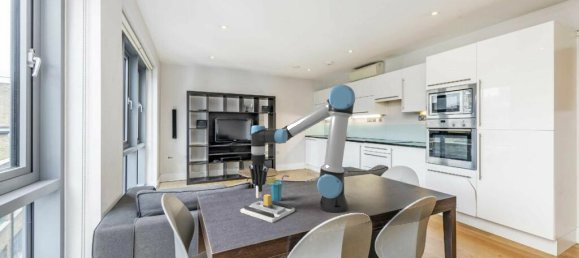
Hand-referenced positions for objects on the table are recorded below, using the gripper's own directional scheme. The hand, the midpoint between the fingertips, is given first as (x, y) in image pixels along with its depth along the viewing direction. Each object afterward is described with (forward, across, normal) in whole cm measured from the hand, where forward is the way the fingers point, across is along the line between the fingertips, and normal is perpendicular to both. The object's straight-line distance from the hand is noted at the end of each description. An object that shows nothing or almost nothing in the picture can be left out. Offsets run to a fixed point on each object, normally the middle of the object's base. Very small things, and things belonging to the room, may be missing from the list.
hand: (258, 197), depth 127 cm
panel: (+6, -6, 0) cm, 9 cm away
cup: (+7, +2, -18) cm, 19 cm away
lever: (+5, -7, 0) cm, 8 cm away
